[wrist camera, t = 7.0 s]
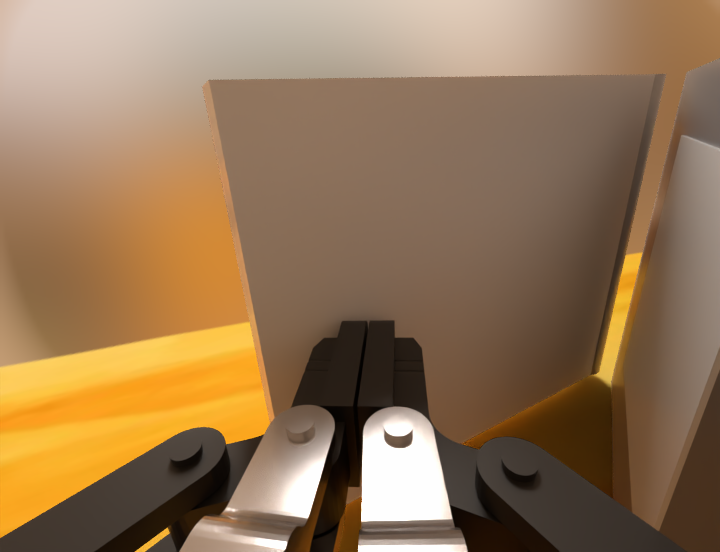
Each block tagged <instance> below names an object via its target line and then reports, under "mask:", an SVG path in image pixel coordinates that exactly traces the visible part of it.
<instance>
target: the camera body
mask: <svg viewBox="0 0 720 552" xmlns="http://www.w3.org/2000/svg"><path fill="white" fill-rule="evenodd" d="M611 393H612V464H613V499H614V500H615V501H617V502H618V503H619V504H621V505H622V506H624V507H625V508H627V509H628V510H629V511H631V512H632V513H634V514H635V515H636V516H638V517H639V518H641V519H642V520H643V521H645V522H646V523H648V524H649V525H650V526H652V527H653V528H655V529H656V530H657V531H659V532H660V533H662V534H663V535H664V536H666V537H667V538H669V539H670V540H672V541H673V542H674V543H676V544H677V545H679V546H680V547H681V548H683V549H684V550H686V551H687V552H720V58H719V59H717V60H715V61H712V62H710V63H708V64H705V65H703V66H700V67H698V68H696V69H693V70H691V71H689V72H687V73H686V77H685V82H684V86H683V90H682V94H681V98H680V102H679V106H678V111H677V114H676V118H675V123H674V127H673V131H672V135H671V139H670V144H669V148H668V152H667V155H666V160H665V164H664V168H663V172H662V176H661V180H660V184H659V188H658V192H657V196H656V201H655V205H654V209H653V213H652V217H651V221H650V225H649V229H648V234H647V237H646V241H645V246H644V250H643V254H642V258H641V262H640V266H639V270H638V274H637V278H636V282H635V287H634V291H633V295H632V299H631V303H630V307H629V311H628V315H627V319H626V323H625V328H624V332H623V336H622V340H621V344H620V348H619V352H618V356H617V360H616V364H615V369H614V373H613V377H612V381H611Z"/></svg>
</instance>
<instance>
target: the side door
mask: <svg viewBox="0 0 720 552" xmlns="http://www.w3.org/2000/svg"><path fill="white" fill-rule="evenodd" d="M665 77H666V74H651V75H571V76H495V77H494V76H490V77H409V78H333V79H332V78H330V79H329V78H328V79H249V80H246V79H245V80H208V81H207V82H206V83H205V85H203V93H204V97H205V103H206V107H207V113H208V118H209V122H210V127H211V132H212V137H213V142H214V147H215V152H216V157H217V162H218V167H219V172H220V177H221V182H222V187H223V192H224V197H225V202H226V207H227V212H228V217H229V221H230V227H231V231H232V236H233V241H234V246H235V251H236V256H237V261H238V266H239V271H240V275H241V281H242V286H243V291H244V296H245V301H246V306H247V311H248V315H249V321H250V326H251V331H252V336H253V341H254V345H255V350H256V355H257V360H258V365H259V370H260V375H261V380H262V385H263V390H264V395H265V400H266V405H267V410H268V415H269V420H270V423H271V422H272V421H273V419H274V418H275V417H276V416H278V415H279V414H280V413H282V412H283V411H285V410H287V409H289V408H291V406H292V403H293V400H294V398H295V395H296V392H297V390H298V387H299V384H300V382H301V379H302V376H303V373H304V372H305V368H306V365H307V363H308V362H309V357H310V355H311V352H312V349H313V347H315V346H316V345H317V344H318V343H319V342H320V341H321V340H322V339H323V338H337V336H338V333H339V329H340V326H341V322H342V321H367V322H368V327H369V321H373V320H394V321H395V338H414V339H415V340H416V341H417V343H418V344H419V345H420V346H421V347H422V353H423V363H424V373H425V381H426V390H427V400H428V409H429V416H430V419H431V422H432V423H433V425H434V427H435V428H436V429H437V430H438V431H439V432H440V433H441V434H442V435H444V436H445V437H447V438H448V439H450V440H452V441H454V442H456V443H459V444H461V443H463V442H465V441H467V440H469V439H471V438H473V437H475V436H477V435H478V434H480V433H482V432H484V431H486V430H488V429H490V428H492V427H493V426H495V425H497V424H499V423H501V422H503V421H505V420H507V419H509V418H510V417H512V416H514V415H516V414H518V413H520V412H522V411H524V410H525V409H527V408H529V407H531V406H533V405H535V404H537V403H539V402H540V401H542V400H544V399H546V398H548V397H550V396H552V395H554V394H556V393H557V392H559V391H561V390H563V389H565V388H567V387H569V386H571V385H572V384H574V383H576V382H578V381H580V380H582V379H584V378H586V377H588V376H589V375H594V374H597V373H598V372H599V370H600V365H601V361H602V357H603V352H604V348H605V343H606V339H607V334H608V330H609V325H610V321H611V317H612V312H613V308H614V303H615V299H616V294H617V290H618V286H619V281H620V277H621V272H622V268H623V263H624V259H625V255H626V250H627V246H628V241H629V237H630V232H631V228H632V223H633V219H634V214H635V210H636V205H637V201H638V197H639V192H640V187H641V183H642V179H643V175H644V170H645V166H646V161H647V157H648V152H649V148H650V144H651V139H652V135H653V130H654V126H655V121H656V117H657V113H658V108H659V104H660V99H661V95H662V90H663V86H664V81H665ZM362 474H363V472H362V470H361V480H360V487H348V493H347V500H346V505H347V504H349V503H351V502H352V501H354V500H356V499H358V498H360V497H362Z"/></svg>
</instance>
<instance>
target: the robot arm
mask: <svg viewBox="0 0 720 552" xmlns="http://www.w3.org/2000/svg"><path fill="white" fill-rule="evenodd" d="M361 470H362V472H363V474H362V526H361V529H360V531H359V543H358V552H687V551H686V550H684V549H683V548H681V547H680V546H679V545H677V544H676V543H674V542H673V541H672V540H670V539H669V538H667V537H666V536H664V535H663V534H662V533H660V532H659V531H657V530H656V529H655V528H653V527H652V526H650V525H649V524H648V523H646V522H645V521H643V520H642V519H641V518H639V517H638V516H636V515H635V514H634V513H632V512H631V511H629V510H628V509H627V508H625V507H624V506H622V505H621V504H619V503H618V502H617V501H615V500H614V499H612V498H611V497H610V496H608V495H607V494H605V493H604V492H603V491H601V490H600V489H598V488H597V487H596V486H594V485H593V484H591V483H590V482H589V481H587V480H586V479H584V478H583V477H582V476H580V475H579V474H577V473H576V472H574V471H573V470H572V469H570V468H569V467H567V466H566V465H565V464H563V463H562V462H560V461H559V460H558V459H556V458H555V457H553V456H552V455H551V454H549V453H548V452H546V451H545V450H544V449H542V448H540V447H539V446H537V445H535V444H533V443H531V442H529V441H526V440H524V439H520V438H515V437H498V438H494V439H491V440H489V441H488V442H486V443H485V444H484V445H482V447H481V448H480V449H479V450H478V449H475V448H472V447H468V446H465V445H462V444H459V443H456V442H454V441H452V440H450V439H448V438H447V437H445V436H444V435H442V434H441V433H440V432H439V431H438V430H437V429H436V428H435V427H434V425H433V423H432V422H431V419H430V416H429V409H428V400H427V390H426V381H425V373H424V363H423V353H422V347H421V346H420V345H419V344H418V343H417V341H416V340H415V339H414V338H395V321H394V320H373V321H369V327H368V322H367V321H342V322H341V326H340V329H339V333H338V336H337V338H323V339H322V340H321V341H320V342H319V343H318V344H317V345H316V346H315V347H313V349H312V352H311V355H310V357H309V362H308V363H307V365H306V368H305V372H304V373H303V376H302V379H301V382H300V384H299V387H298V390H297V392H296V395H295V398H294V400H293V403H292V406H291V408H289V409H287V410H285V411H283V412H282V413H280V414H279V415H278V416H276V417H275V418H274V419H273V421H272V422H271V423H270V425H269V427H268V428H267V430H266V432H265V434H264V435H261V436H259V437H256V438H252V439H248V440H244V441H239V442H235V443H231V444H227V445H226V442H225V439H224V436H223V435H222V434H221V433H220V432H219V431H218V430H215V429H213V428H207V427H200V428H193V429H190V430H186V431H184V432H181V433H179V434H177V435H175V436H173V437H171V438H170V439H168V440H166V441H165V442H163V443H161V444H160V445H158V446H156V447H154V448H153V449H151V450H149V451H148V452H146V453H144V454H143V455H141V456H139V457H137V458H136V459H134V460H132V461H131V462H129V463H127V464H126V465H124V466H122V467H120V468H119V469H117V470H115V471H114V472H112V473H110V474H109V475H107V476H105V477H103V478H102V479H100V480H98V481H97V482H95V483H93V484H92V485H90V486H88V487H86V488H85V489H83V490H81V491H80V492H78V493H76V494H75V495H73V496H71V497H70V498H68V499H66V500H64V501H63V502H61V503H59V504H58V505H56V506H54V507H53V508H51V509H49V510H47V511H46V512H44V513H42V514H41V515H39V516H37V517H36V518H34V519H32V520H30V521H29V522H27V523H25V524H24V525H22V526H20V527H19V528H17V529H15V530H13V531H12V532H10V533H8V534H7V535H5V536H3V537H2V538H0V552H135V551H136V550H137V549H139V548H140V547H141V546H143V545H144V544H145V543H147V542H148V541H150V540H151V539H152V538H154V537H155V536H156V535H158V534H159V533H160V532H162V531H163V530H164V529H166V528H167V527H168V529H169V532H170V534H168V535H167V536H166V537H164V538H163V539H162V540H160V541H159V542H158V543H156V544H155V545H154V546H152V547H151V548H150V549H148V550H147V551H146V552H339V548H340V543H341V538H342V534H343V529H344V523H345V512H344V511H345V507H346V500H347V493H348V487H360V480H361Z"/></svg>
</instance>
